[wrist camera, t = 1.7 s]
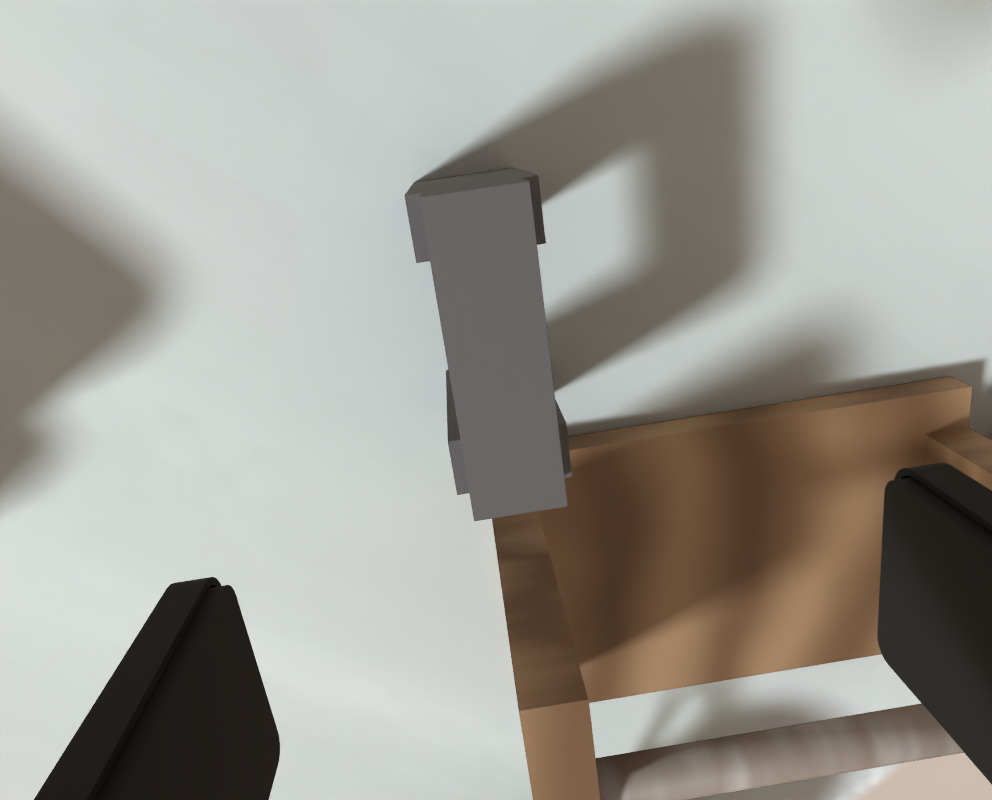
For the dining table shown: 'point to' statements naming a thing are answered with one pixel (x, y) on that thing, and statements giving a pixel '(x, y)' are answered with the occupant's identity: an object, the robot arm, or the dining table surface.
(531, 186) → the grey arch block
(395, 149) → the dining table surface
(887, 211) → the dining table surface
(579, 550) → the wooden rod bracket
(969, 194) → the dining table surface
